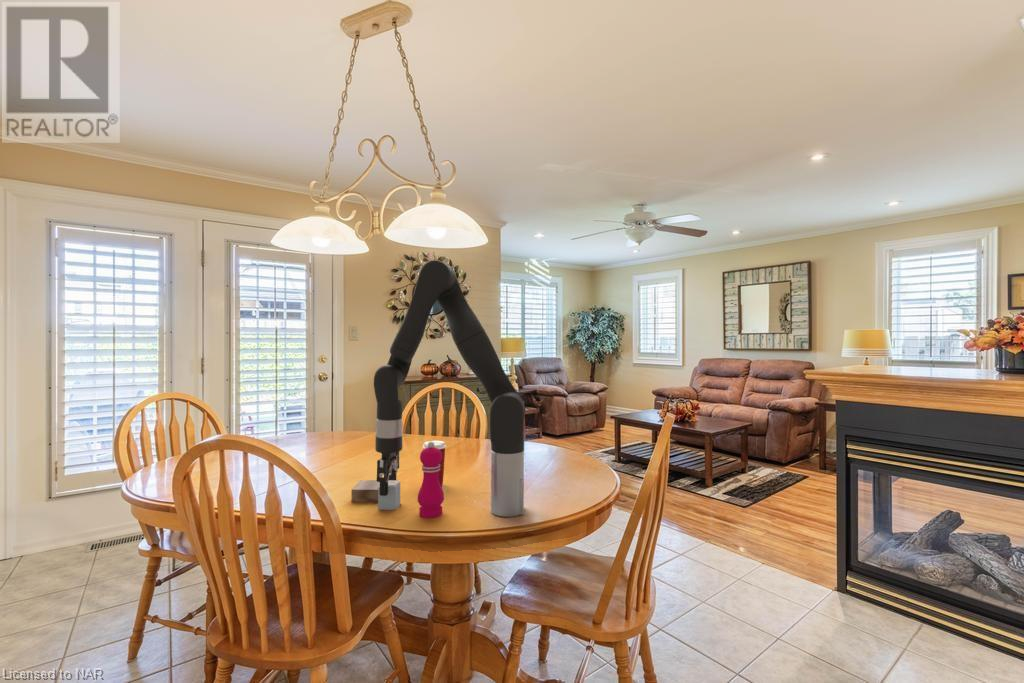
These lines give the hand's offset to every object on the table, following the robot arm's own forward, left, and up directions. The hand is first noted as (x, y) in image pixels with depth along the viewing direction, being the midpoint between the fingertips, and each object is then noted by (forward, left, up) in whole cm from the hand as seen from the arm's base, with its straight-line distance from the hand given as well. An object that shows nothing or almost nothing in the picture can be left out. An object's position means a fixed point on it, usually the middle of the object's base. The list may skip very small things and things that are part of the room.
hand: (388, 490), depth 139 cm
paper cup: (-9, -20, -5) cm, 23 cm away
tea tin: (0, 0, -5) cm, 5 cm away
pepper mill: (-13, +5, -5) cm, 15 cm away
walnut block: (+8, -8, -5) cm, 12 cm away
